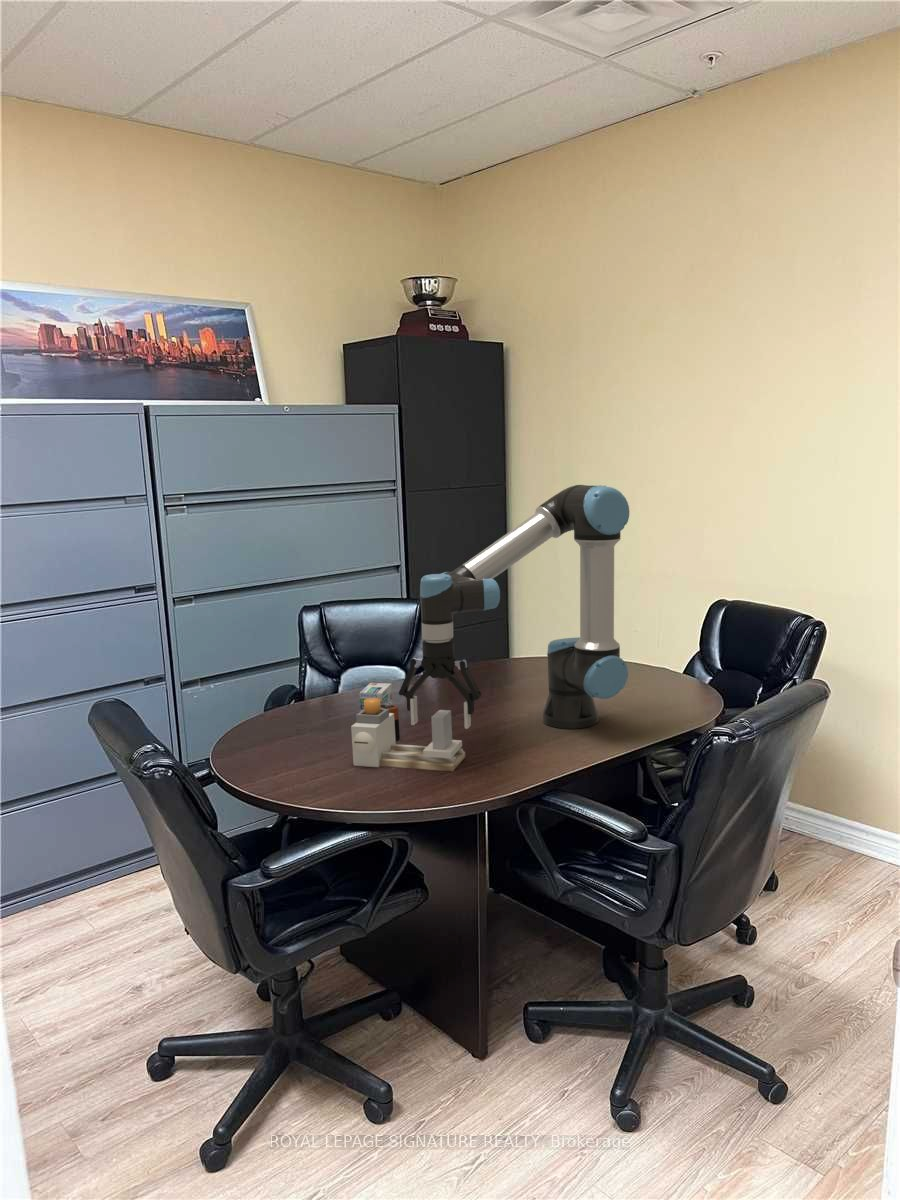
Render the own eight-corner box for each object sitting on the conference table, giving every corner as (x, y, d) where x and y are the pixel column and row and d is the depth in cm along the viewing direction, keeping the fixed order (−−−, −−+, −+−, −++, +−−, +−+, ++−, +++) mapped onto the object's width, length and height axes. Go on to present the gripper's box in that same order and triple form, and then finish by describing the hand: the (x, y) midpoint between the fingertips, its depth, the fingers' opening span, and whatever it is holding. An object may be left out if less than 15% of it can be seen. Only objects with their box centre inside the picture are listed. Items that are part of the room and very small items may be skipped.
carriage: (462, 746, 226) (460, 709, 224) (450, 758, 217) (449, 720, 216) (435, 744, 228) (433, 707, 226) (423, 756, 219) (421, 718, 218)
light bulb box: (384, 731, 250) (382, 693, 248) (360, 730, 252) (358, 692, 250) (394, 719, 261) (392, 682, 259) (371, 718, 262) (369, 682, 260)
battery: (387, 743, 240) (385, 706, 238) (372, 737, 245) (370, 701, 243) (400, 739, 242) (398, 703, 241) (386, 733, 248) (384, 698, 246)
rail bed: (465, 757, 226) (464, 746, 226) (452, 771, 217) (452, 760, 217) (395, 752, 232) (395, 742, 232) (380, 766, 223) (380, 755, 222)
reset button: (383, 710, 228) (382, 698, 227) (376, 714, 224) (376, 702, 224) (368, 709, 229) (367, 697, 229) (361, 713, 225) (361, 702, 225)
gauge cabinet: (396, 751, 233) (393, 705, 231) (377, 768, 221) (374, 720, 219) (372, 749, 235) (369, 704, 233) (352, 766, 223) (349, 719, 221)
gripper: (492, 637, 217) (494, 723, 221) (394, 634, 225) (398, 717, 229) (483, 644, 210) (486, 733, 214) (383, 640, 218) (387, 726, 222)
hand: (440, 725), depth 221 cm, fingers open, 13 cm apart
